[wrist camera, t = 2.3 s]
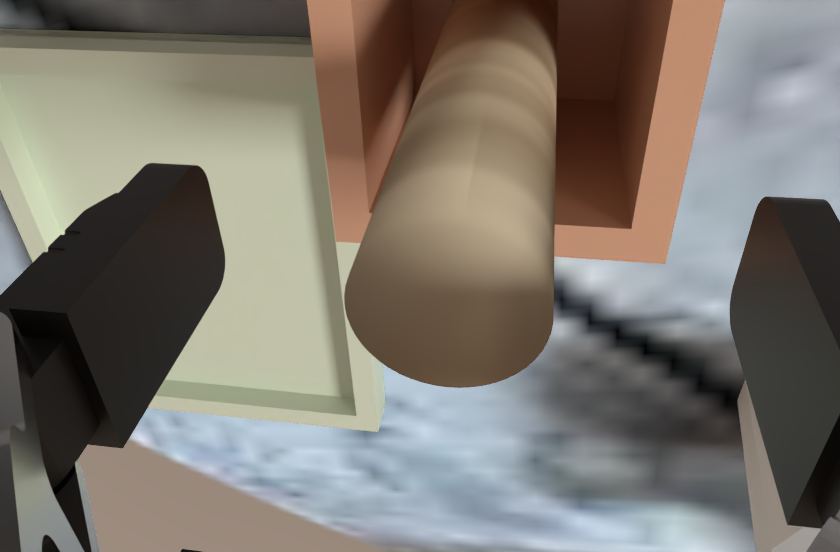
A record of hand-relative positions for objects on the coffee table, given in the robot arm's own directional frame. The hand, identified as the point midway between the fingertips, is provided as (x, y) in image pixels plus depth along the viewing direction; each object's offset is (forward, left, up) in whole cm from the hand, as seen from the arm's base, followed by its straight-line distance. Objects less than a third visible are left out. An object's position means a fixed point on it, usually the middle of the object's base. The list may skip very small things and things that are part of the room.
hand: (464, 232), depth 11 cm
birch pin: (0, 0, -10) cm, 10 cm away
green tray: (+8, -10, -11) cm, 17 cm away
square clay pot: (-1, 0, -11) cm, 11 cm away
